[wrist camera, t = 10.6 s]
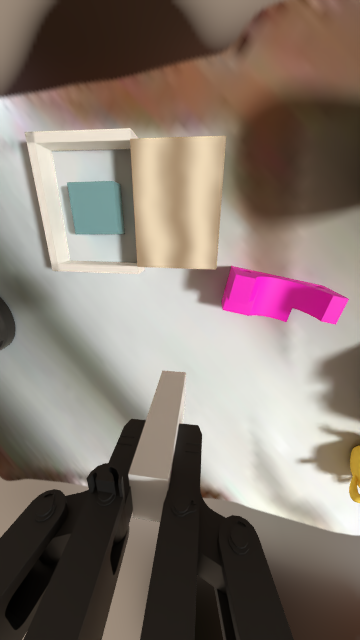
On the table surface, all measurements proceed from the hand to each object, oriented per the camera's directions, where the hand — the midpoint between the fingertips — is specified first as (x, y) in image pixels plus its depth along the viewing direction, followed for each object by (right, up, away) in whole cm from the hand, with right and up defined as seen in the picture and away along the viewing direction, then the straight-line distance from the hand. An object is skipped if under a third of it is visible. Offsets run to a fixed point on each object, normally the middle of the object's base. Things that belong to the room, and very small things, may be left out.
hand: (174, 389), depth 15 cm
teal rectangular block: (-12, +22, +22) cm, 33 cm away
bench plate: (0, +21, +20) cm, 29 cm away
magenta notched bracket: (+16, +9, +23) cm, 30 cm away
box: (-12, +22, +21) cm, 33 cm away
